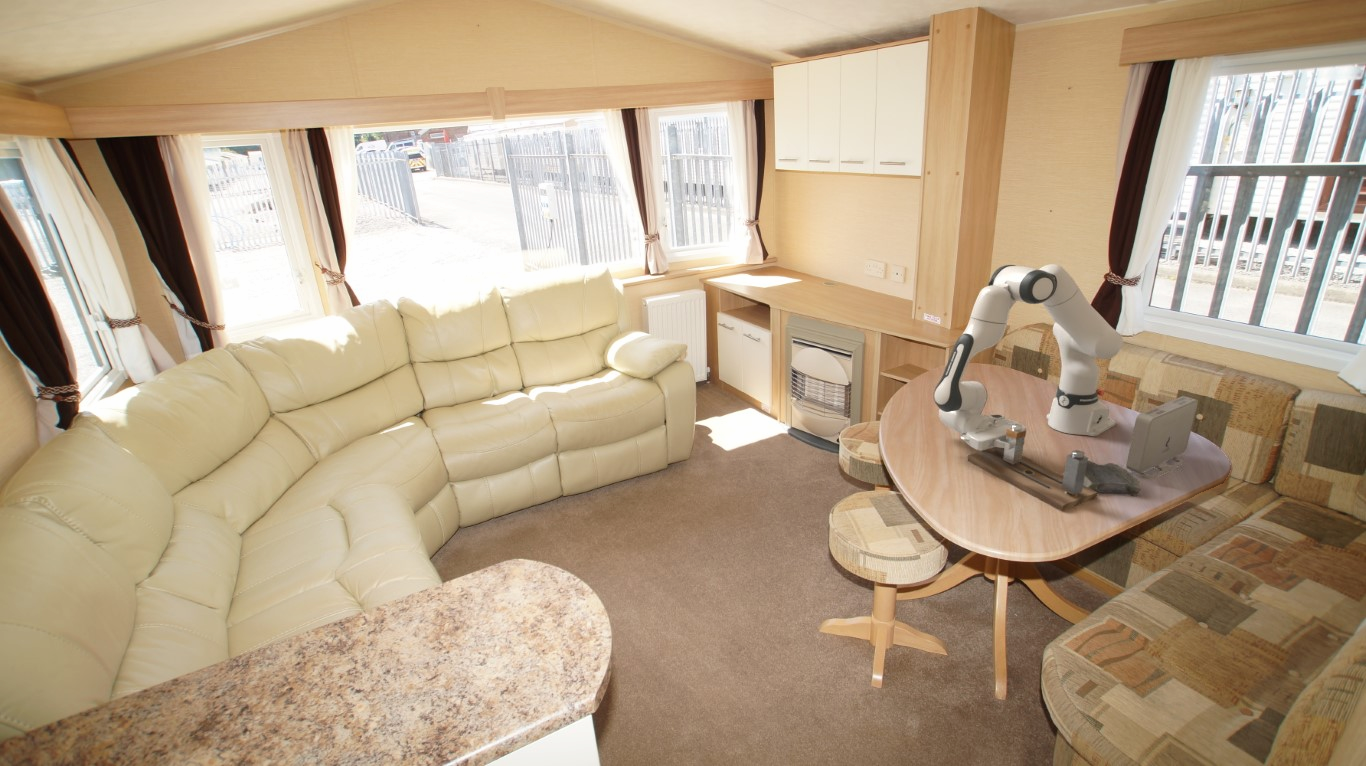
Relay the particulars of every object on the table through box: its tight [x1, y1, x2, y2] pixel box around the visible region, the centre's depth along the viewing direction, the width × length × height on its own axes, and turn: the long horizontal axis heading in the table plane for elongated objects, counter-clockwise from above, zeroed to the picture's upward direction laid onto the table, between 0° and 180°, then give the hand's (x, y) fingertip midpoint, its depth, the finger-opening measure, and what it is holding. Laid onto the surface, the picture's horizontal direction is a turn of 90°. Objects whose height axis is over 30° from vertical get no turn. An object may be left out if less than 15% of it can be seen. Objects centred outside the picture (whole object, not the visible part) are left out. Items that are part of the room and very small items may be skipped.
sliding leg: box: [1003, 423, 1027, 464], centre depth 197 cm, size 4×4×13 cm
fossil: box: [1083, 459, 1142, 497], centre depth 189 cm, size 15×16×4 cm
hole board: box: [967, 446, 1099, 512], centre depth 194 cm, size 14×34×3 cm, turn 23°
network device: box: [1125, 395, 1199, 479], centre depth 193 cm, size 26×9×20 cm, turn 117°
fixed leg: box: [1061, 449, 1089, 495], centre depth 179 cm, size 4×4×13 cm
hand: (1016, 445), depth 196 cm, fingers closed on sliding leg, 4 cm apart
